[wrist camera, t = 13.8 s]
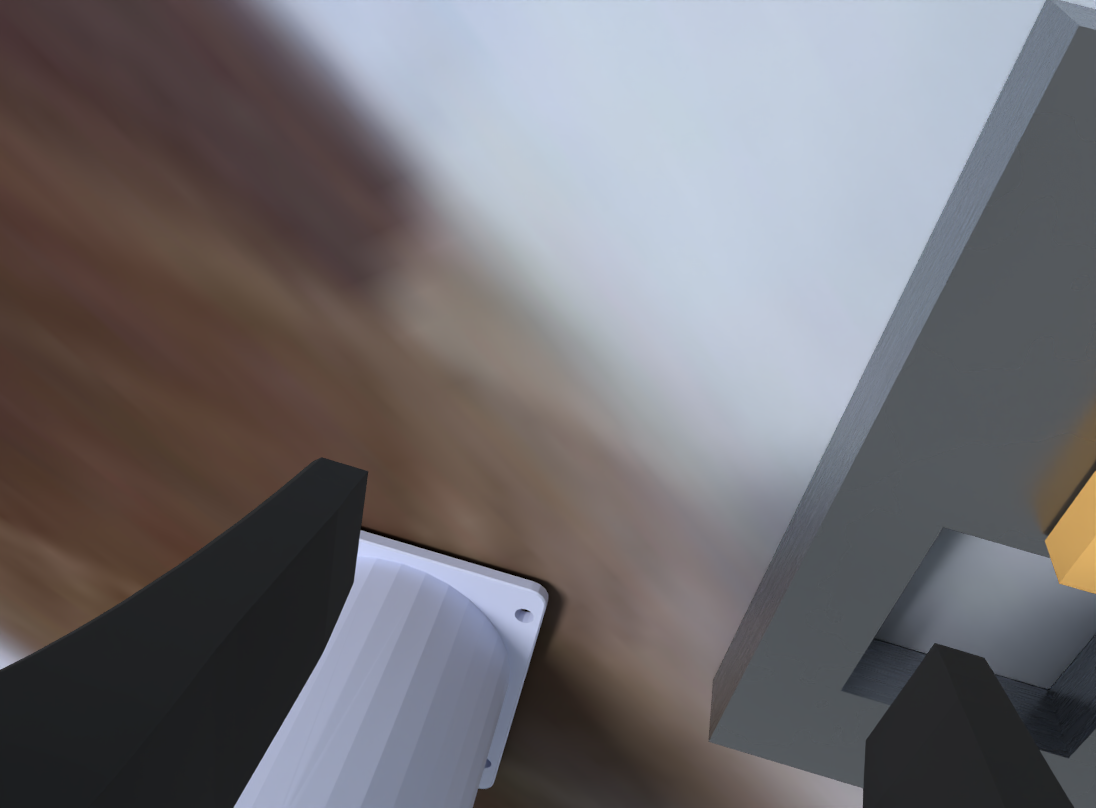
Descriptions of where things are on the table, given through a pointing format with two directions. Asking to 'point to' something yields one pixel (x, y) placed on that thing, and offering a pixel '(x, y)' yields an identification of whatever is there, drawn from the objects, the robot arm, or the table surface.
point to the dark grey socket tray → (947, 440)
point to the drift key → (1076, 541)
